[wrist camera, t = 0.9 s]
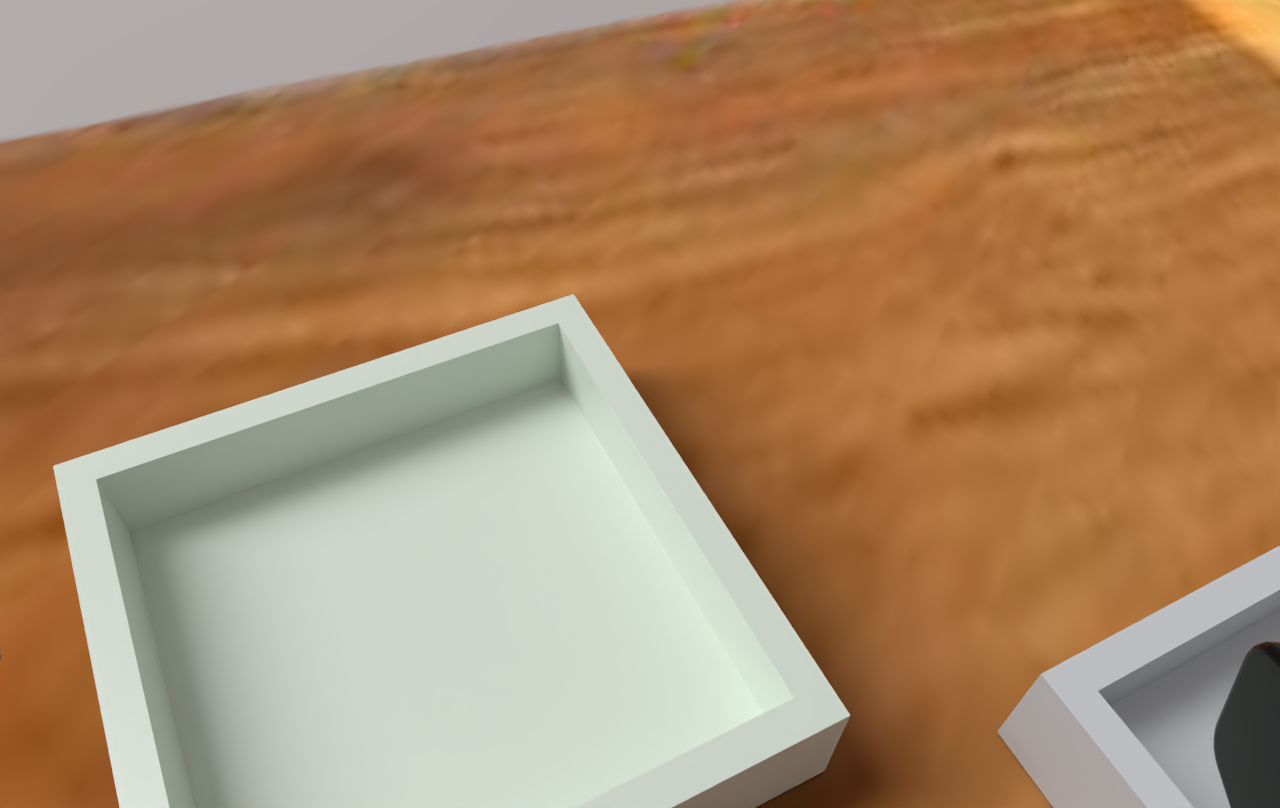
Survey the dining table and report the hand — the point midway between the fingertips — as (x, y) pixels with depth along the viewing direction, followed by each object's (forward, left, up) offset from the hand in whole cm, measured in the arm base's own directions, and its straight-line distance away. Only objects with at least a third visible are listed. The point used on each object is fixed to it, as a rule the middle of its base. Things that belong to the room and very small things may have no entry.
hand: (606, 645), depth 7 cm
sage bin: (+9, 0, -16) cm, 18 cm away
